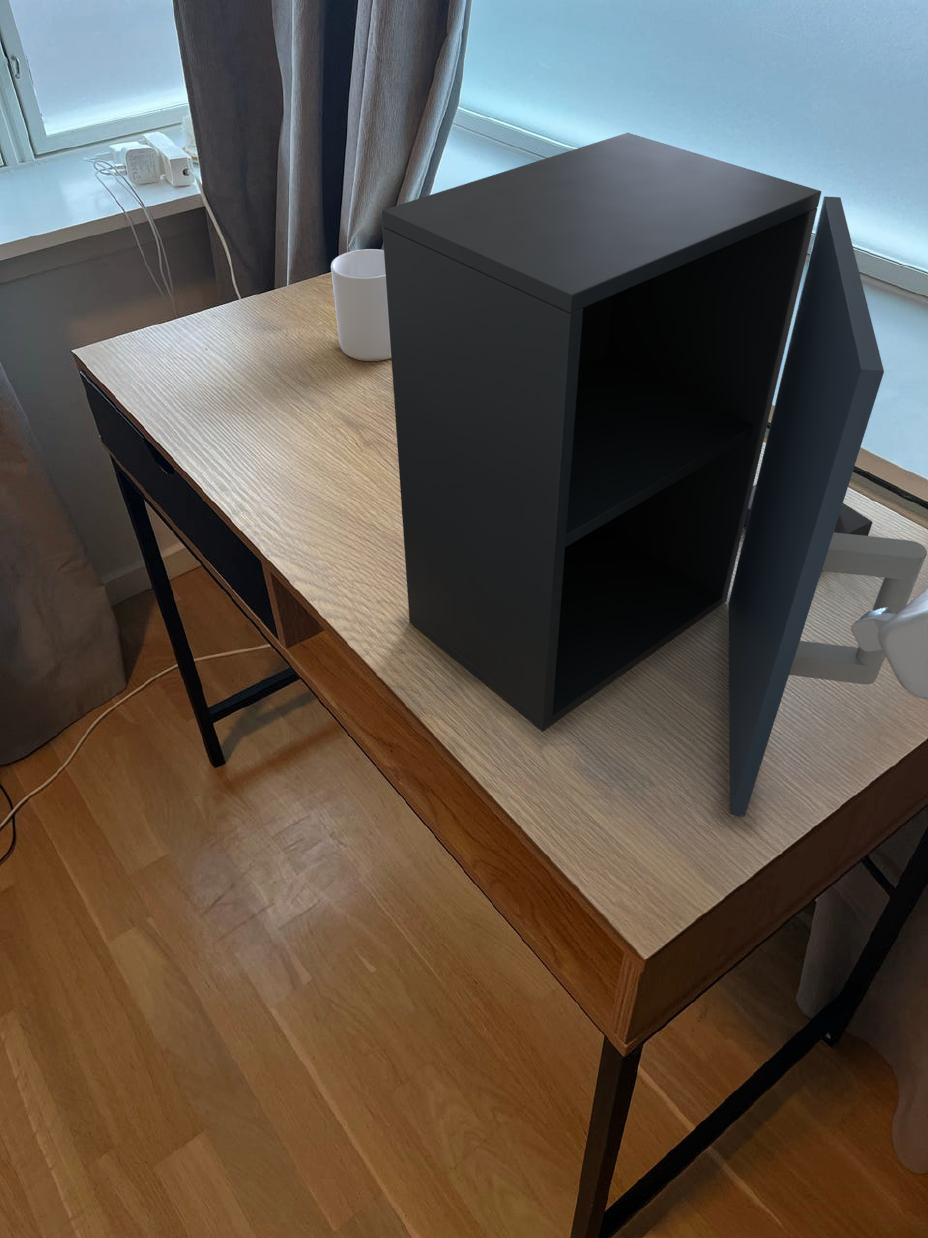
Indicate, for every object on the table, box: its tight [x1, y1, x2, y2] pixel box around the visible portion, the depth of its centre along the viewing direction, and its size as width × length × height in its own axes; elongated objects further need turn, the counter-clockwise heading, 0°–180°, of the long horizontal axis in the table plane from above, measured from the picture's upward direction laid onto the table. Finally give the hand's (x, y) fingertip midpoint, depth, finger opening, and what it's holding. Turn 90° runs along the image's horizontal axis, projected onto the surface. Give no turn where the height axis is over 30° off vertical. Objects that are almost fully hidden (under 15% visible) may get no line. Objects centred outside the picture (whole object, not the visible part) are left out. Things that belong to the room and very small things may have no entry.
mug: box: [330, 248, 391, 362], centre depth 115 cm, size 12×8×10 cm
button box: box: [743, 484, 874, 536], centre depth 89 cm, size 10×8×4 cm
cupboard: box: [380, 132, 822, 732], centre depth 70 cm, size 16×22×34 cm
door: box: [727, 195, 928, 817], centre depth 62 cm, size 7×22×34 cm, turn 169°
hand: (908, 593), depth 54 cm, fingers open, 8 cm apart
